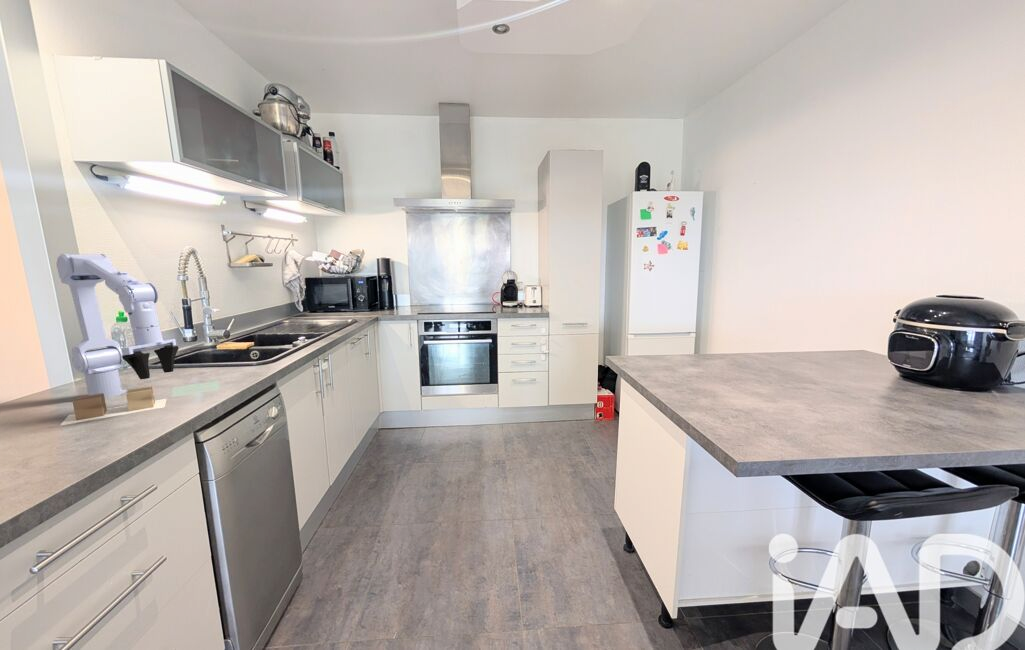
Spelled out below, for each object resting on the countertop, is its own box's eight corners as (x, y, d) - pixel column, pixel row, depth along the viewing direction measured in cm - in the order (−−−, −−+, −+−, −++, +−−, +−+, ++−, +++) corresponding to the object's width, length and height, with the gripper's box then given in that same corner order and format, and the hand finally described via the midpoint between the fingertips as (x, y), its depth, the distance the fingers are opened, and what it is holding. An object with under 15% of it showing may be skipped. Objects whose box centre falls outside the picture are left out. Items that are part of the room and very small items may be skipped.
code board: (69, 416, 106) (69, 414, 106) (166, 400, 118) (166, 398, 118) (60, 427, 99) (59, 425, 99) (164, 409, 111) (164, 406, 111)
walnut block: (80, 414, 106) (77, 397, 105) (106, 410, 109) (103, 393, 108) (76, 420, 102) (72, 402, 101) (103, 415, 105) (100, 398, 104)
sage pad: (173, 389, 128) (173, 387, 128) (218, 382, 136) (218, 380, 136) (171, 399, 119) (171, 397, 119) (220, 391, 127) (219, 389, 126)
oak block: (131, 406, 112) (128, 389, 111) (154, 402, 115) (152, 385, 114) (129, 411, 108) (126, 394, 107) (153, 407, 111) (150, 390, 110)
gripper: (136, 329, 100) (148, 380, 102) (182, 322, 115) (192, 367, 116) (108, 332, 100) (121, 383, 102) (158, 325, 115) (168, 370, 116)
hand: (157, 375), depth 109 cm, fingers open, 7 cm apart
